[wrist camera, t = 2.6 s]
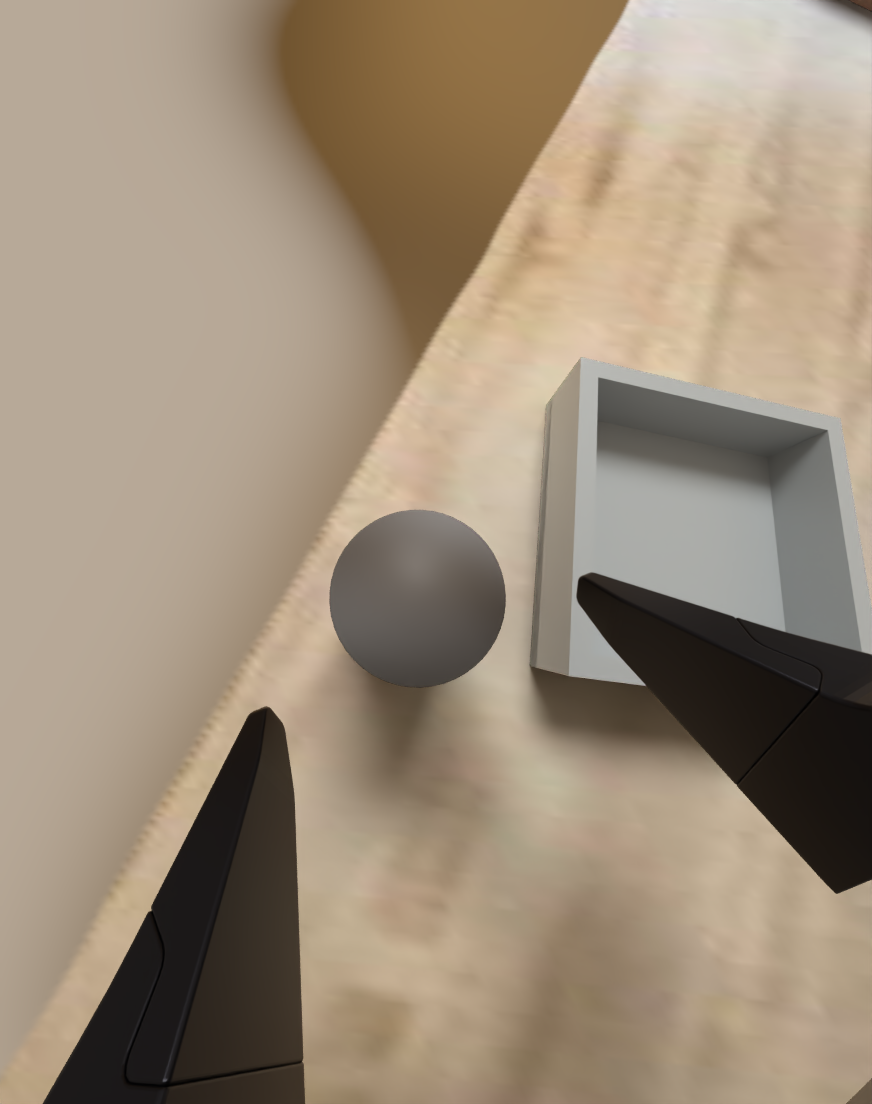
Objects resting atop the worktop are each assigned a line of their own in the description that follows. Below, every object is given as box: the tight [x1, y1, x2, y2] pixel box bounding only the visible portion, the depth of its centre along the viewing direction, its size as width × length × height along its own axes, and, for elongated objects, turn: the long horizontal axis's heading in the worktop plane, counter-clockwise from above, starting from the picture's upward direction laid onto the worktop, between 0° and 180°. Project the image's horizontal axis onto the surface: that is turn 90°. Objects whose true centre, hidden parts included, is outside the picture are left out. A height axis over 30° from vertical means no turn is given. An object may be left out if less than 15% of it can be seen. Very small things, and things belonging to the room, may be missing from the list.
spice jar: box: [330, 510, 506, 687], centre depth 14 cm, size 5×5×8 cm
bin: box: [530, 357, 872, 686], centre depth 19 cm, size 16×16×4 cm
